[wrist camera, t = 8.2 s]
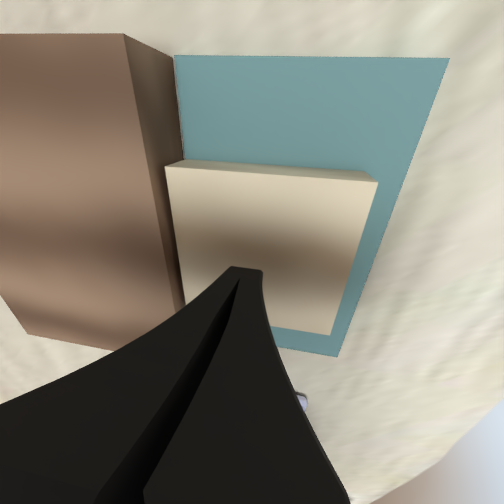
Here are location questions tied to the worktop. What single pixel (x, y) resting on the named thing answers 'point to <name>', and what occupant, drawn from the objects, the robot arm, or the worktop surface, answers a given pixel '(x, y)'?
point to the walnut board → (87, 187)
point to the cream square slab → (271, 232)
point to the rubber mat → (313, 134)
